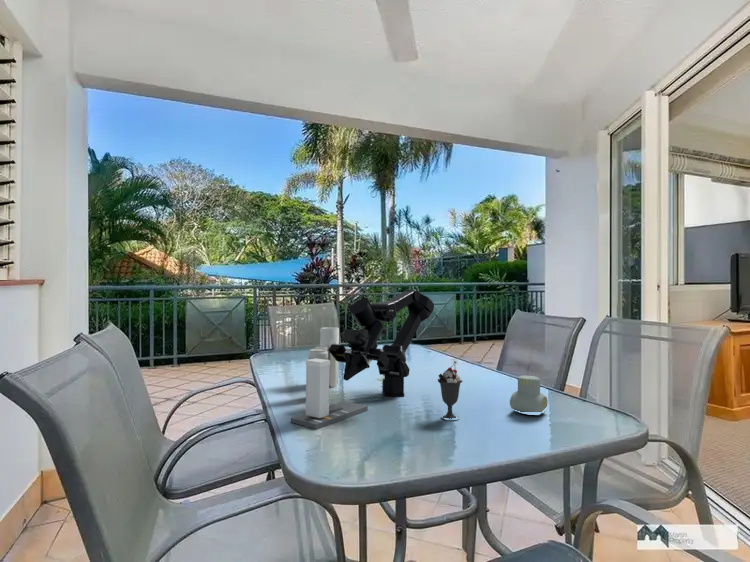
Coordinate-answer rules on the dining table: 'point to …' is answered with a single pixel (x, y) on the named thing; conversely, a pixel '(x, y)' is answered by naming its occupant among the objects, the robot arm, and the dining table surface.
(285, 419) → the dining table surface
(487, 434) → the dining table surface
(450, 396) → the sundae
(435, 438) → the dining table surface
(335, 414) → the console
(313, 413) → the fader tab
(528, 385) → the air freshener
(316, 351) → the beer can
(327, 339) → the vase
